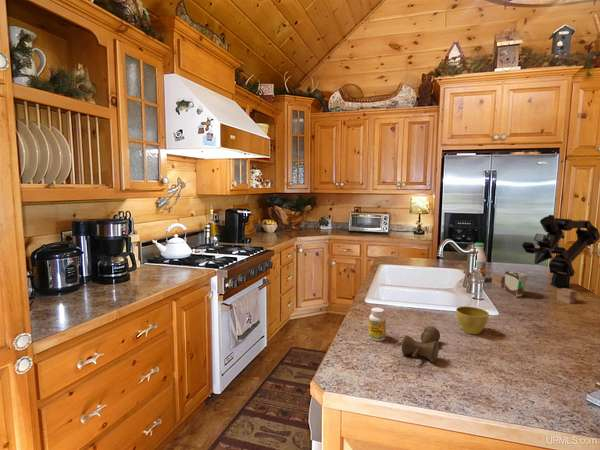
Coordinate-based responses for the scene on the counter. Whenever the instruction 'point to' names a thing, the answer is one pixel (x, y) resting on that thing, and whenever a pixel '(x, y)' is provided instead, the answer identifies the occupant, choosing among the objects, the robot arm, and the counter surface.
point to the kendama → (423, 344)
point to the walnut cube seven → (566, 295)
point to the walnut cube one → (498, 280)
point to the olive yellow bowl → (472, 319)
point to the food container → (515, 283)
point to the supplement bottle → (377, 324)
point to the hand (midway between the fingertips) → (535, 263)
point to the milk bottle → (481, 258)
